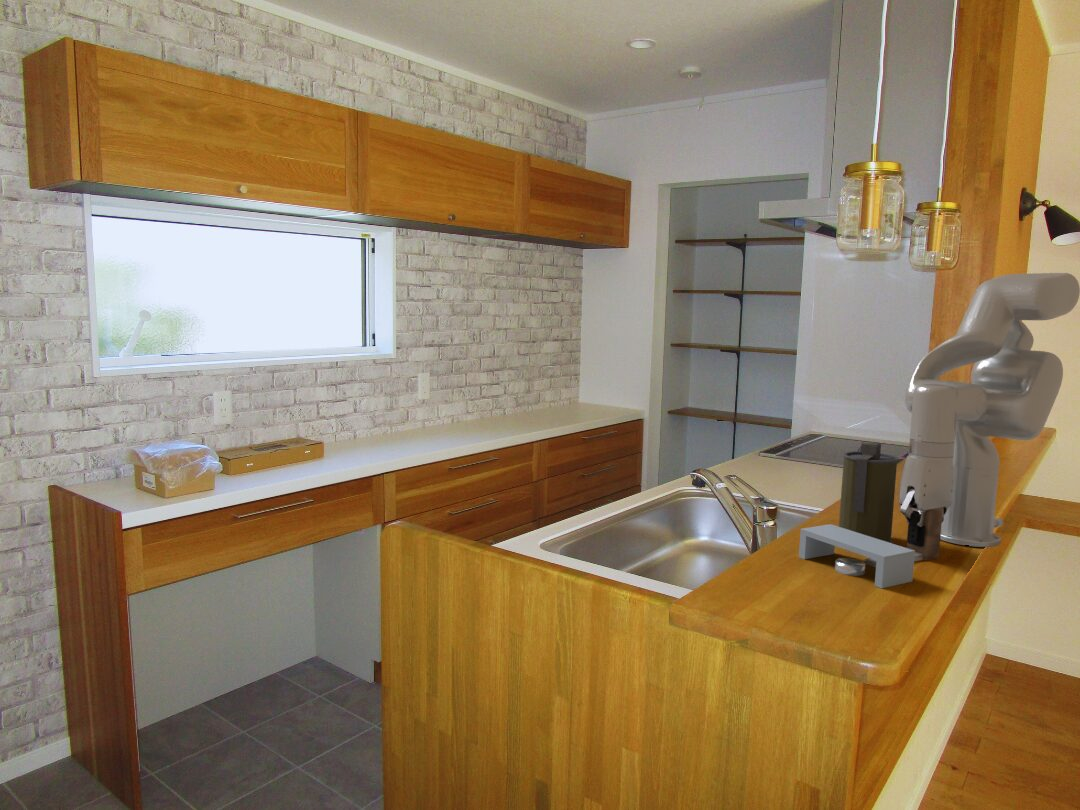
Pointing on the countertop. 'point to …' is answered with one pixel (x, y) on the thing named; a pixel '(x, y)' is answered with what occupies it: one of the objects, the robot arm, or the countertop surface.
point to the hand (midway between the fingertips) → (923, 542)
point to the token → (850, 566)
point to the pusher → (931, 537)
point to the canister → (868, 491)
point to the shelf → (860, 552)
